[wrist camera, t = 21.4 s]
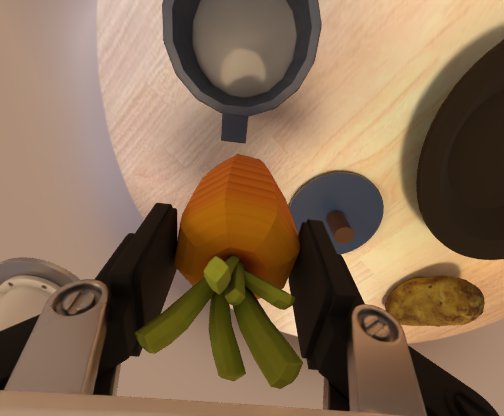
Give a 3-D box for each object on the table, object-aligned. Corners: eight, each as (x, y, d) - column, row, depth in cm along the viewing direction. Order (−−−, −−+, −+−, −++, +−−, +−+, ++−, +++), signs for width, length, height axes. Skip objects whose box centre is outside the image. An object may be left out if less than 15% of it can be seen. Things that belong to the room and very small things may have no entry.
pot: (186, 120, 33) (166, 136, 25) (185, -83, 24) (156, -148, 17) (287, 131, 34) (297, 151, 26) (320, -62, 25) (349, -115, 18)
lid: (279, 246, 42) (283, 271, 37) (295, 164, 36) (302, 181, 31) (363, 254, 43) (378, 280, 38) (394, 175, 36) (416, 193, 31)
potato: (375, 278, 45) (398, 317, 38) (456, 256, 43) (496, 294, 36) (382, 310, 49) (404, 351, 42) (457, 291, 47) (494, 332, 40)
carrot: (196, 170, 20) (79, 393, 6) (235, 114, 18) (188, 261, 4) (250, 207, 21) (247, 450, 8) (292, 158, 19) (383, 369, 6)
